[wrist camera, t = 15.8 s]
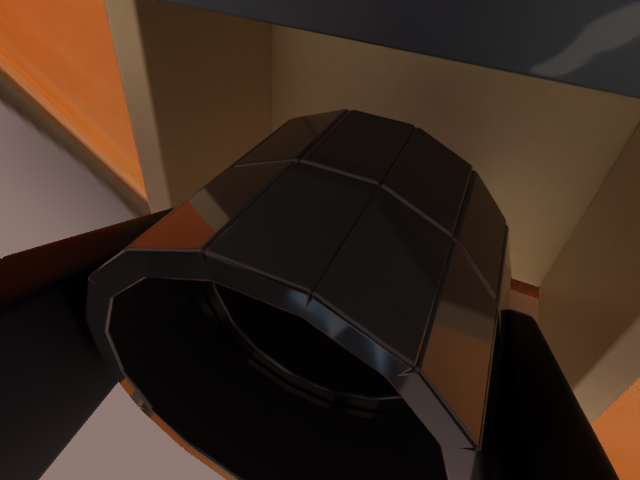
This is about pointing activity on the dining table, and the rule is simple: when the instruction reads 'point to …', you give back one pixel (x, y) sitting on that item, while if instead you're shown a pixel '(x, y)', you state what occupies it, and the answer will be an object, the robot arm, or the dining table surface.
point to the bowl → (319, 309)
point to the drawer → (438, 121)
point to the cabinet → (478, 32)
